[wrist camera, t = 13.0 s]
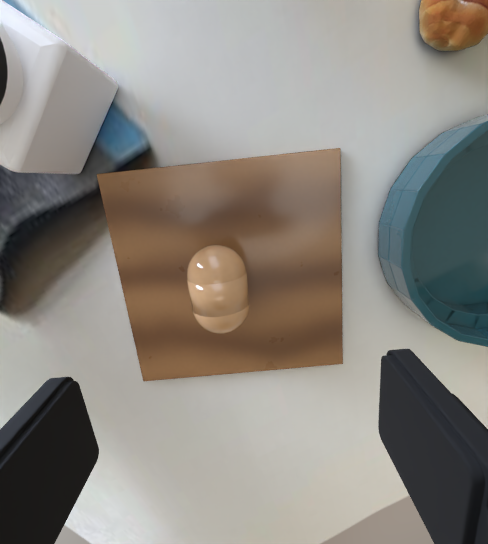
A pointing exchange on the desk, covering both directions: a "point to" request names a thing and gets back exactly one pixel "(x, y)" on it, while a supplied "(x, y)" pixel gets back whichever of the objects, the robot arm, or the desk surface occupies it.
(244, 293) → the beige ridged oval
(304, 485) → the desk surface
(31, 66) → the medicine bottle
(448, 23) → the pastry
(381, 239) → the bowl
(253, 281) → the wooden board
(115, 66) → the desk surface
